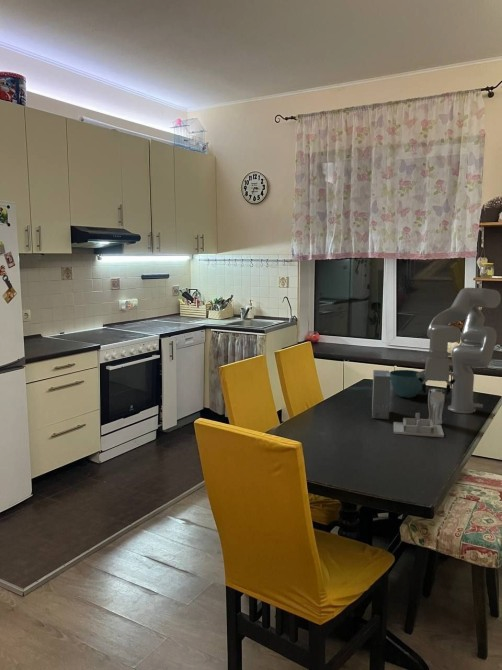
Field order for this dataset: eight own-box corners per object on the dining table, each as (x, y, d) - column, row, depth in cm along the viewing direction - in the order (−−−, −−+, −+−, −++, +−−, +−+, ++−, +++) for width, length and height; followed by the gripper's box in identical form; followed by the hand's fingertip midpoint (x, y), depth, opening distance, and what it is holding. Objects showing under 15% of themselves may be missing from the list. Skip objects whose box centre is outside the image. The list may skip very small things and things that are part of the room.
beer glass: (444, 421, 250) (445, 389, 248) (442, 426, 244) (444, 392, 241) (427, 420, 253) (429, 387, 251) (425, 424, 246) (427, 391, 244)
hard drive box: (389, 419, 253) (390, 376, 250) (372, 418, 255) (373, 376, 252) (387, 410, 268) (389, 370, 266) (371, 409, 270) (372, 369, 267)
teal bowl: (428, 400, 288) (429, 377, 286) (393, 400, 288) (394, 376, 286) (418, 391, 306) (419, 369, 304) (385, 391, 306) (386, 369, 304)
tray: (440, 427, 242) (441, 413, 241) (443, 437, 228) (444, 423, 228) (393, 424, 247) (393, 410, 246) (393, 433, 233) (394, 419, 232)
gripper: (457, 354, 245) (455, 392, 247) (417, 352, 249) (415, 390, 251) (460, 357, 238) (457, 396, 240) (417, 355, 242) (415, 393, 244)
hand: (435, 393), depth 246 cm, fingers open, 9 cm apart
